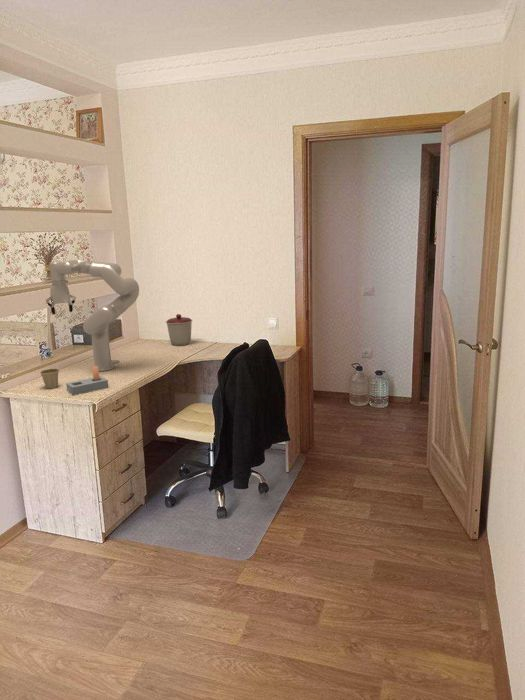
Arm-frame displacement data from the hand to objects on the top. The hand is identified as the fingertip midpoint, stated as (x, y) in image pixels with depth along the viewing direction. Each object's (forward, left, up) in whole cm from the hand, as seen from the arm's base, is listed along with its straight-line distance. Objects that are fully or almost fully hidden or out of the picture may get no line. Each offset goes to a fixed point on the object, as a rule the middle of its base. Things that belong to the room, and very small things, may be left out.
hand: (62, 312), depth 306 cm
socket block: (+6, +49, -33) cm, 59 cm away
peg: (+1, +49, -33) cm, 59 cm away
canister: (-79, -9, -34) cm, 86 cm away
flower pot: (+19, +31, -34) cm, 49 cm away
